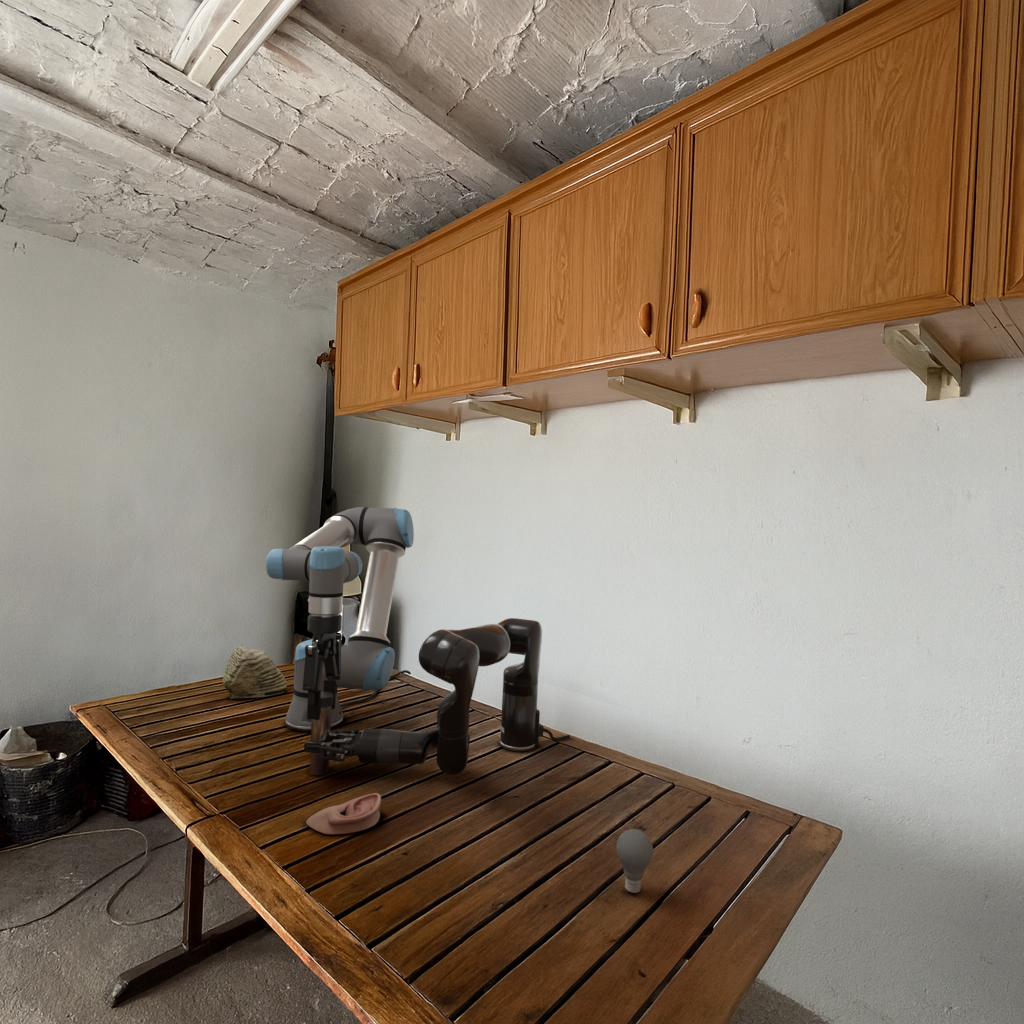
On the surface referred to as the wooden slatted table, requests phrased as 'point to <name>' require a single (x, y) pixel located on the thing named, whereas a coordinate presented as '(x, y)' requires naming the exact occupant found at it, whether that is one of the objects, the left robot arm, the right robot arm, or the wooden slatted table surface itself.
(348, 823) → the anatomical model
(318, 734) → the dark brown cylindrical piece
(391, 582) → the left robot arm
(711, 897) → the wooden slatted table surface
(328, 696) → the lid
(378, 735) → the right robot arm
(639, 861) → the light bulb
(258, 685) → the fossil
